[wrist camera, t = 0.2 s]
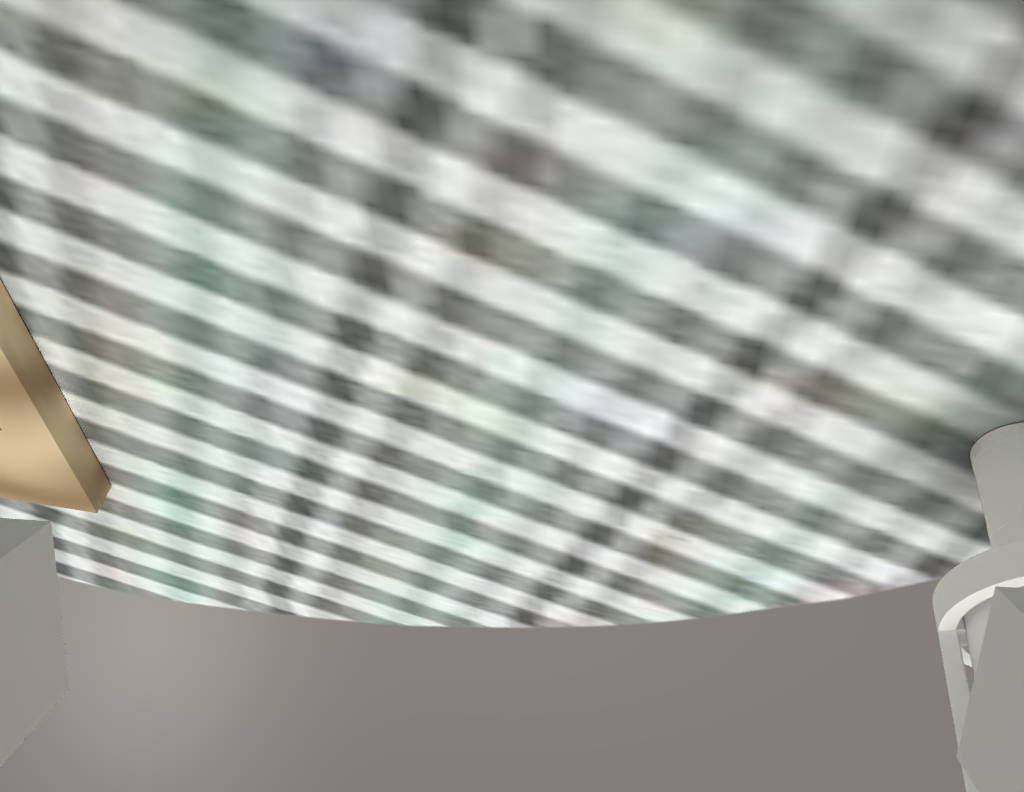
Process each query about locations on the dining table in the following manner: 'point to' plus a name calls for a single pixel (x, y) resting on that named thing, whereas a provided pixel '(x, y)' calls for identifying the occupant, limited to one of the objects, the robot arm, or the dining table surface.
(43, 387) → the oak board
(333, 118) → the dining table surface
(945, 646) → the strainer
